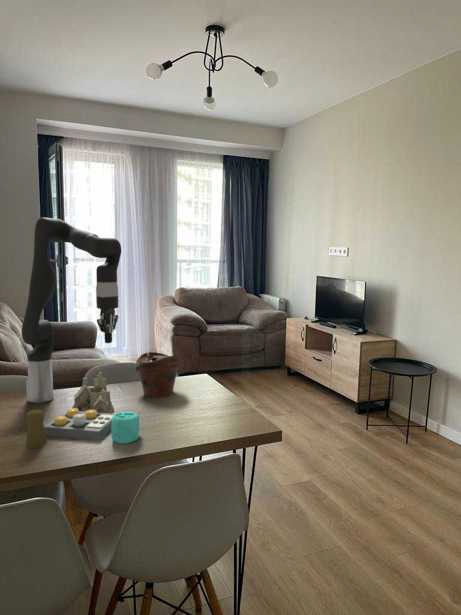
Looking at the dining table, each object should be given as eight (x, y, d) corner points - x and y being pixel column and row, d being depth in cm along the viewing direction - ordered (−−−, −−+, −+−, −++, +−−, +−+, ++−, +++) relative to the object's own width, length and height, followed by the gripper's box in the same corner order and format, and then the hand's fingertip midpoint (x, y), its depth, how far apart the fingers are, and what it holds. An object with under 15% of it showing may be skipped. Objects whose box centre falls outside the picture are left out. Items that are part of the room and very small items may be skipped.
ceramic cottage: (74, 405, 180) (74, 369, 178) (116, 405, 182) (116, 370, 180) (65, 422, 165) (65, 383, 162) (111, 422, 167) (111, 384, 164)
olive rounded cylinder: (30, 440, 147) (28, 407, 146) (49, 439, 148) (47, 407, 146) (23, 448, 141) (21, 414, 140) (43, 447, 142) (41, 414, 140)
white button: (71, 425, 151) (70, 417, 151) (77, 421, 155) (76, 413, 155) (82, 426, 150) (81, 418, 150) (88, 422, 154) (87, 414, 154)
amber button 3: (83, 421, 159) (82, 413, 159) (88, 417, 163) (88, 409, 163) (93, 422, 158) (93, 413, 158) (98, 418, 162) (98, 410, 162)
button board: (43, 435, 151) (43, 424, 151) (68, 418, 167) (68, 408, 166) (99, 440, 148) (98, 429, 147) (119, 422, 163) (119, 412, 163)
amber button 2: (64, 419, 160) (64, 411, 160) (70, 415, 164) (70, 407, 164) (75, 420, 160) (74, 412, 159) (80, 416, 163) (80, 408, 163)
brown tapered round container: (142, 385, 208) (142, 347, 206) (184, 387, 206) (184, 349, 203) (128, 398, 191) (127, 356, 188) (174, 400, 188) (174, 359, 186)
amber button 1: (52, 428, 152) (51, 419, 152) (58, 424, 156) (58, 415, 156) (63, 429, 152) (62, 420, 151) (69, 424, 156) (69, 416, 155)
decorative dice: (136, 443, 145) (136, 419, 144) (111, 444, 145) (110, 420, 144) (139, 433, 153) (139, 410, 152) (115, 434, 153) (115, 411, 152)
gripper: (105, 292, 166) (106, 338, 168) (88, 296, 153) (89, 346, 156) (124, 293, 165) (125, 339, 167) (109, 296, 152) (110, 347, 154)
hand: (108, 342), depth 161 cm, fingers closed
